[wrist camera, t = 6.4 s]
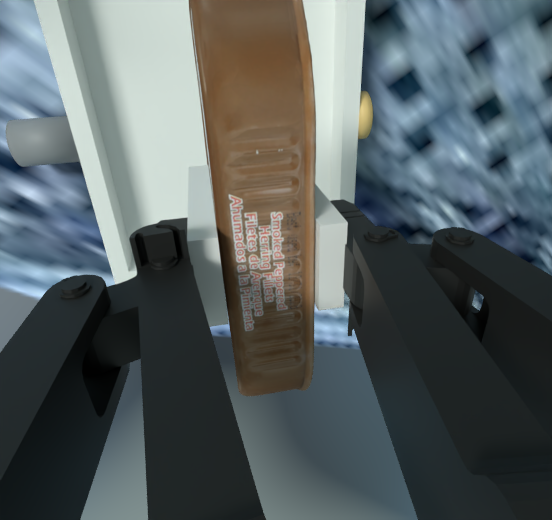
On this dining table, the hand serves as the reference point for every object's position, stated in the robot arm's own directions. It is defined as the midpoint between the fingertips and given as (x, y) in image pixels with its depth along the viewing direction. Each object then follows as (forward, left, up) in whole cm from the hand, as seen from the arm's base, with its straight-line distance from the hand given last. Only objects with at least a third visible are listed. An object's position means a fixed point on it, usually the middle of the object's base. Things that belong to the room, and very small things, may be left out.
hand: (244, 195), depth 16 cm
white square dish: (+1, 0, -17) cm, 17 cm away
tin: (0, 0, -2) cm, 2 cm away
